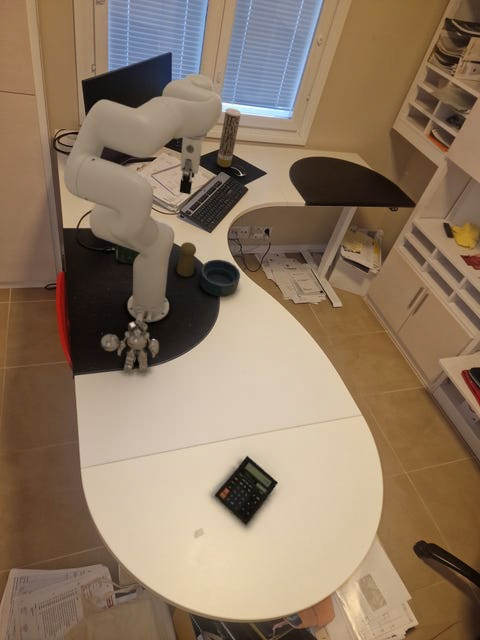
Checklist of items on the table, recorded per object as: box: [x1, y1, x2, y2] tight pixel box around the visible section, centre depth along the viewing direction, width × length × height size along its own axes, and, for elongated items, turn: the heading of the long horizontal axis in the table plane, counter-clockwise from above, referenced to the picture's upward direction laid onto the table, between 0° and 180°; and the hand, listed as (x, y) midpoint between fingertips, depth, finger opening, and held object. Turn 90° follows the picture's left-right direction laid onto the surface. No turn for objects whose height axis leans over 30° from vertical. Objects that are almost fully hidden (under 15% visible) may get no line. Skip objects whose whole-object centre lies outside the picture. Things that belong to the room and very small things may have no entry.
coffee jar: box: [115, 244, 140, 265], centre depth 135 cm, size 10×8×19 cm
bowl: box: [199, 259, 241, 297], centre depth 139 cm, size 13×13×6 cm
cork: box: [176, 242, 197, 277], centre depth 139 cm, size 6×6×11 cm
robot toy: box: [100, 321, 160, 373], centre depth 107 cm, size 15×6×15 cm, turn 96°
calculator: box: [214, 455, 279, 526], centre depth 95 cm, size 9×12×3 cm
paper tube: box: [216, 107, 242, 169], centre depth 191 cm, size 7×7×25 cm
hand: (186, 184), depth 123 cm, fingers open, 9 cm apart
